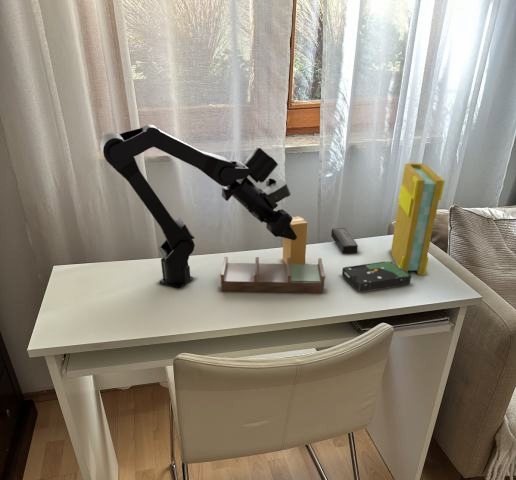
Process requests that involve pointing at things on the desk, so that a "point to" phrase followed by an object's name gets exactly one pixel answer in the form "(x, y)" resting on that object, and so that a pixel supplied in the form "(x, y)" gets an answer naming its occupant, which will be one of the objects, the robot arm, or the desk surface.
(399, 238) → the book
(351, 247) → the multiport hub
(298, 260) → the package
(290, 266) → the rack
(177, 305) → the desk surface
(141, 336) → the desk surface
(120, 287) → the desk surface
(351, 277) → the disk drive
